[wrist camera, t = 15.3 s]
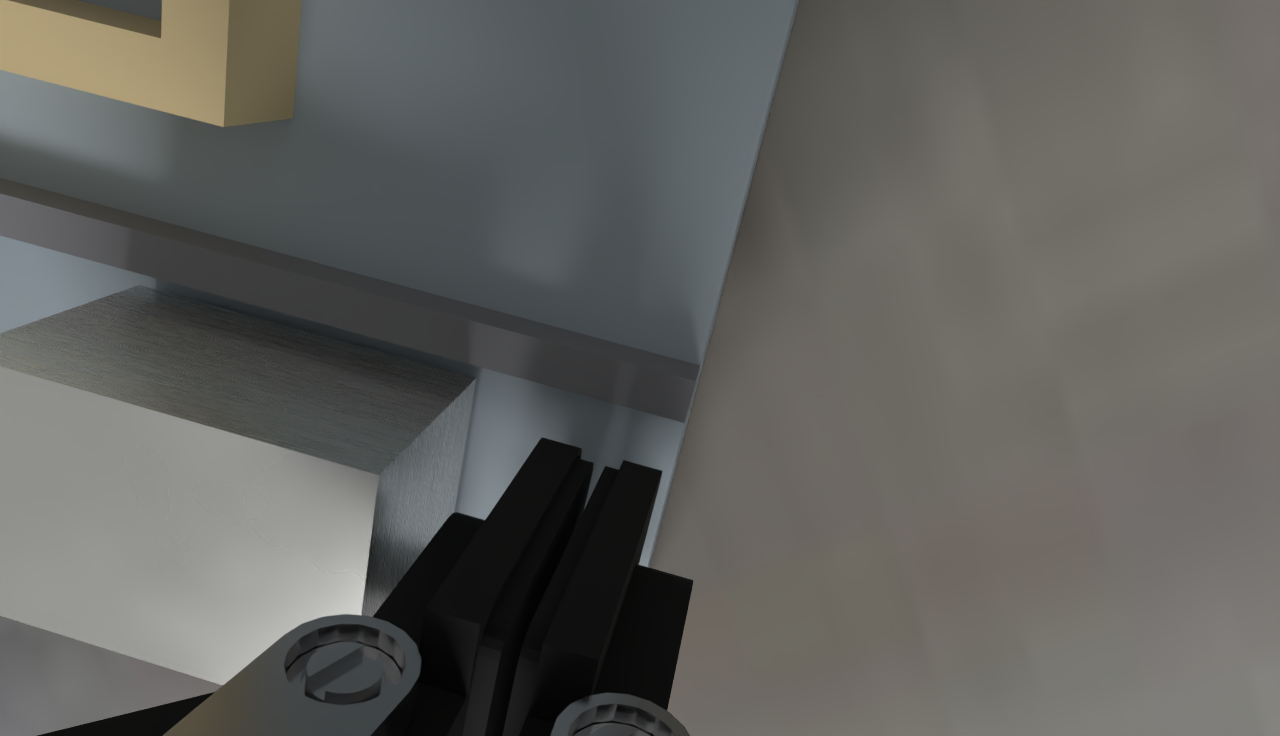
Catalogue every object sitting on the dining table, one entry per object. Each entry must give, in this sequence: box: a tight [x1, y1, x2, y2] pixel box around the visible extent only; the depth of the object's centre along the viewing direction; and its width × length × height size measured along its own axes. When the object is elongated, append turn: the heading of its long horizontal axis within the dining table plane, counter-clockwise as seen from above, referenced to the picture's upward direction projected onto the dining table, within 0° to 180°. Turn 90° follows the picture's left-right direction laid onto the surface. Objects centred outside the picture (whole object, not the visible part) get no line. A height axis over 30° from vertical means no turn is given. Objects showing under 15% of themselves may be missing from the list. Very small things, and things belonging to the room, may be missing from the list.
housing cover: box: [0, 285, 476, 685], centre depth 11 cm, size 5×3×3 cm
